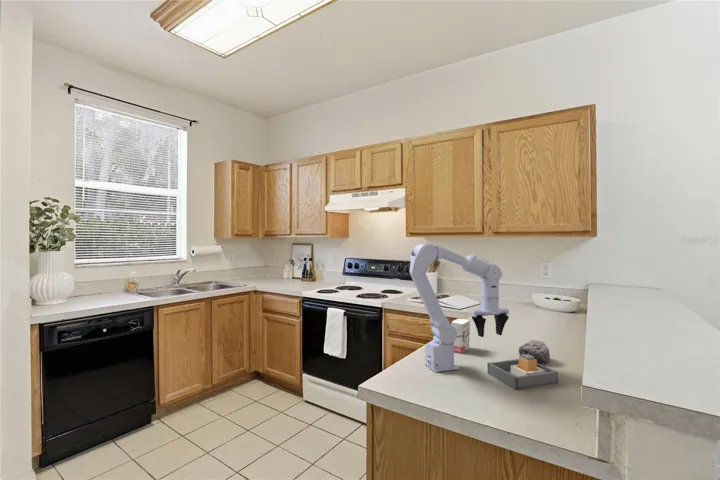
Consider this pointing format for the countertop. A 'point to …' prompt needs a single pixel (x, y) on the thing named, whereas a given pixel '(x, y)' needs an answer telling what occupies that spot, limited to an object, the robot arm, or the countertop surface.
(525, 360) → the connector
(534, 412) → the countertop surface
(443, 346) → the robot arm
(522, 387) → the walled box
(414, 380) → the countertop surface
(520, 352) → the pumice stone
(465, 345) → the ink box
